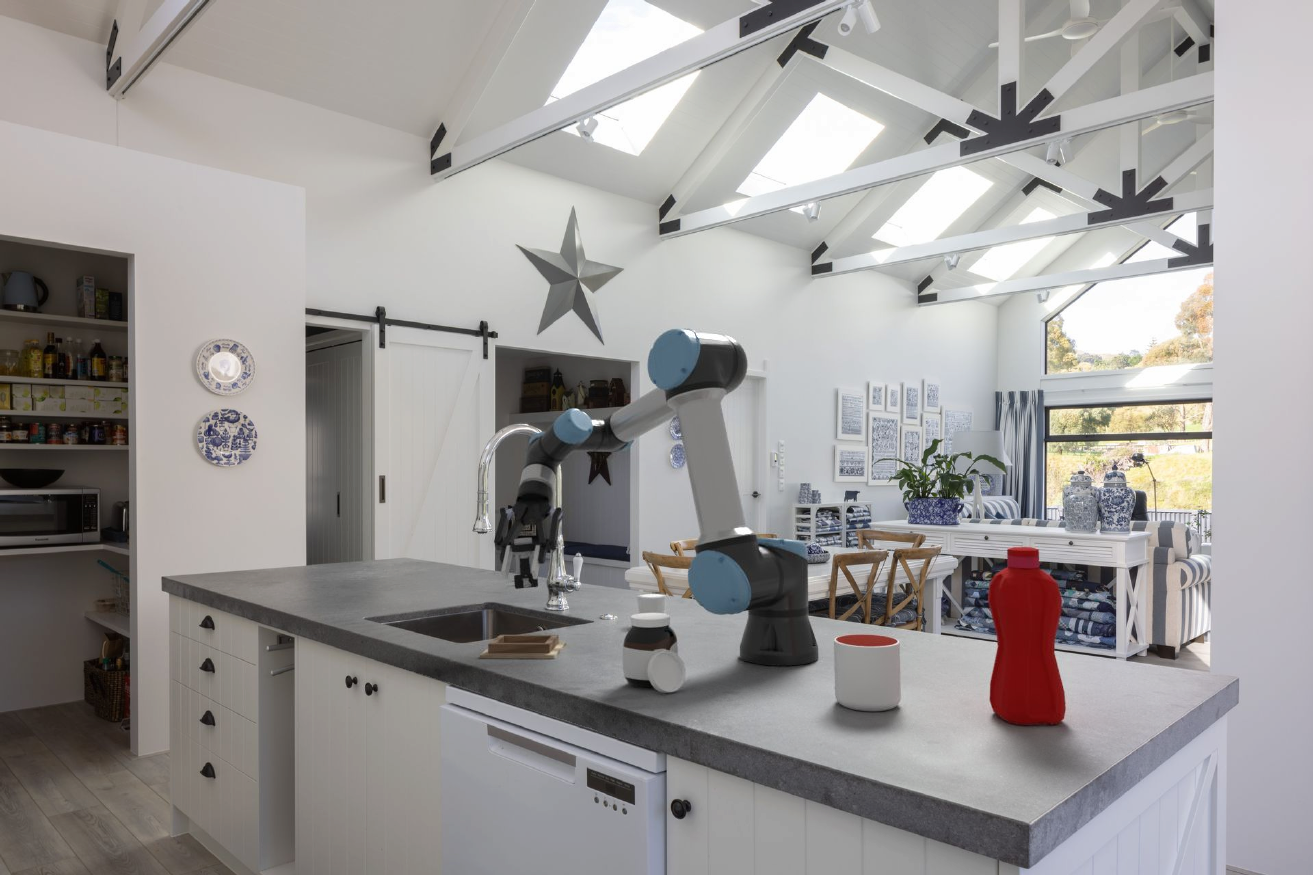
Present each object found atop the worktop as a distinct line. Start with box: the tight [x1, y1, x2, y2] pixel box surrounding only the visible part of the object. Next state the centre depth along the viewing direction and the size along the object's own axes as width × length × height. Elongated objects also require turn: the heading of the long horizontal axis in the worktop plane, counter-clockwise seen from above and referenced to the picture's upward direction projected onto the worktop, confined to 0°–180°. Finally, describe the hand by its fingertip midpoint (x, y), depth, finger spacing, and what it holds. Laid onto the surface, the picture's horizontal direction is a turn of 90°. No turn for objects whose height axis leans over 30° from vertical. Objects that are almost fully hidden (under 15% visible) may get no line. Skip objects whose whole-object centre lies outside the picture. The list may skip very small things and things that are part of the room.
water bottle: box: [987, 546, 1067, 726], centre depth 130 cm, size 9×11×25 cm
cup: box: [833, 633, 902, 712], centre depth 137 cm, size 10×10×10 cm
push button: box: [505, 537, 539, 590], centre depth 180 cm, size 7×5×10 cm
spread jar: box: [622, 613, 687, 694], centre depth 150 cm, size 12×11×12 cm
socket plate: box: [478, 634, 567, 659], centre depth 179 cm, size 13×15×2 cm
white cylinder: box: [636, 592, 667, 614], centre depth 206 cm, size 7×7×7 cm
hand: (519, 574), depth 176 cm, fingers closed on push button, 5 cm apart
